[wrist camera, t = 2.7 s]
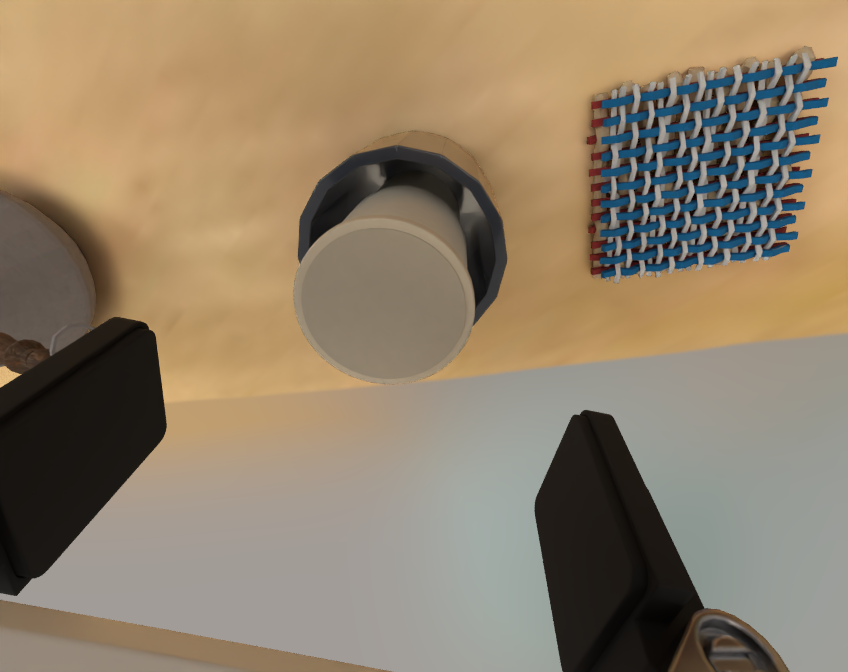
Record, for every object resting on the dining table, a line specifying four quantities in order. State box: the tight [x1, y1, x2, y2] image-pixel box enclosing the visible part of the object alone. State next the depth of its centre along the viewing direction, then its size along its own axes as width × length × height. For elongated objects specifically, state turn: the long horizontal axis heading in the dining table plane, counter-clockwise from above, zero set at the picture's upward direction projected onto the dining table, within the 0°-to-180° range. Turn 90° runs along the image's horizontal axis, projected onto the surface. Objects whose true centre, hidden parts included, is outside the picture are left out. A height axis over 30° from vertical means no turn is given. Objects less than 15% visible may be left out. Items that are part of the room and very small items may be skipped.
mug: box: [298, 131, 507, 326], centre depth 24 cm, size 12×9×8 cm
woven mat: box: [587, 46, 838, 284], centre depth 23 cm, size 10×11×2 cm
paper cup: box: [293, 171, 475, 384], centre depth 20 cm, size 6×6×13 cm
